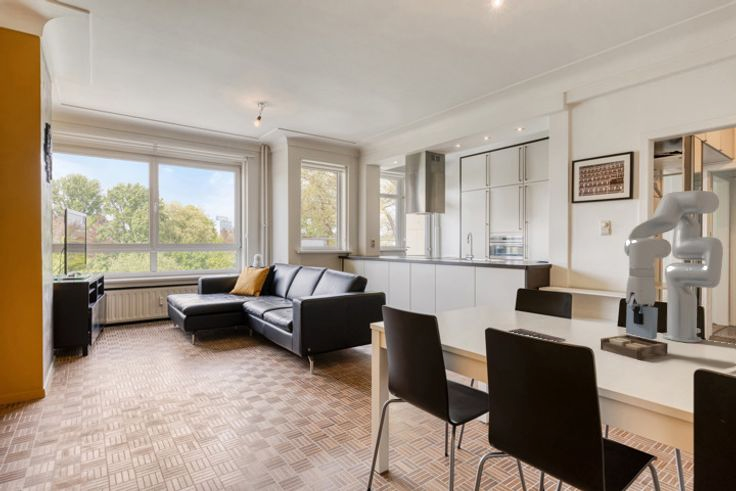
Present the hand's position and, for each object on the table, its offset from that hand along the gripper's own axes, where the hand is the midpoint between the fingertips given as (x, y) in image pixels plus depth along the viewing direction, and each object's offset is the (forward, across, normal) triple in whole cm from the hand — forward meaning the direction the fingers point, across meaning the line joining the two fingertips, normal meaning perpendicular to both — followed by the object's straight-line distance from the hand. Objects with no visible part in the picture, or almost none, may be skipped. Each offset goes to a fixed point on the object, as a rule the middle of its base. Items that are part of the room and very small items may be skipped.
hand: (641, 323), depth 142 cm
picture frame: (+12, +23, -31) cm, 40 cm away
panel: (+5, 0, 0) cm, 5 cm away
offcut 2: (+10, +7, +3) cm, 13 cm away
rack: (+11, +5, 0) cm, 12 cm away
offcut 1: (+10, +7, -3) cm, 13 cm away
